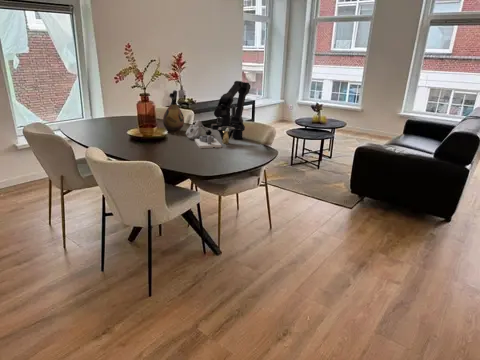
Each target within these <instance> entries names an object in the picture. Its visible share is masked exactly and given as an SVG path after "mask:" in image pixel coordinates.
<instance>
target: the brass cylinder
mask: <svg viewBox="0 0 480 360" xmlns="http://www.w3.org/2000/svg"><path fill="white" fill-rule="evenodd" d="M222 133H223V139H221V144H222V143H223V144H222V145H229V144H228V143H230V139H229V130H222Z"/></svg>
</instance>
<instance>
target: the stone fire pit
mask: <svg viewBox="0 0 480 360" xmlns="http://www.w3.org/2000/svg"><path fill="white" fill-rule="evenodd" d="M194 143H195V144H196V145H197V146H198V148H199V149H211V148H213V147H215V148H222V143H220V141H218V139H217V138H215V137H214V135H210V136H209V135H206V134H204V135H200V136H199V138H197V139H194Z"/></svg>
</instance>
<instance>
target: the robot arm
mask: <svg viewBox="0 0 480 360" xmlns="http://www.w3.org/2000/svg"><path fill="white" fill-rule="evenodd" d="M250 90H251V84H250V83H249V82H247V81H246V82H244V81H242V80H235V81H234V82H233V85H232V86H231V87H230V89H229V90H228V91H227V92H226V93H223V94H222V95H221V96H220V98H219V100H218V103H217V106H216V109H215V110H214V112H213V114H214V117H215V118H216V122H217V123H211V125H210V128H211V130H215V131H217V132H219V135H220V139H221V140H222V139H223V133H222V131H223V129H227V128H228V131H229V140H230V139H231V138H232V139H233V138H234V139H233V140H244V138H243V132H244V131H245V129H246V126H245V125H244V119H243V117H242V116H243V111H244V106H245V102H246V97H247V95H248V94H249V93H250ZM237 93H238V96H237V97H238V98H237V102H236V107H235V113H234V115H233V116H231V109H232V108H233V107H232V105H233V102H234V97H235V96H236V94H237Z"/></svg>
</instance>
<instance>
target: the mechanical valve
mask: <svg viewBox="0 0 480 360" xmlns="http://www.w3.org/2000/svg"><path fill="white" fill-rule="evenodd" d="M201 128H202V129H203V130H204V131H205V135H210V136H212V130H210V129H207V128H206V126H204V125H203V122H202V121H201V120H199V119H197V120H196V122H195V123H194V124H190V125H189V127H188V128H187V129H186V132H185V135H186V136H187V138H188V139H190V140H194V141H195V139H199V138H200V136H201V133H202V129H201Z"/></svg>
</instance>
